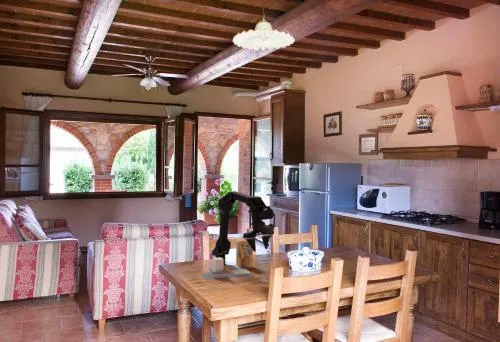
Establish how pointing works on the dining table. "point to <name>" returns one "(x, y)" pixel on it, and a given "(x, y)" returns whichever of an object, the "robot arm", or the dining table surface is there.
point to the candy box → (244, 254)
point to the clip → (227, 270)
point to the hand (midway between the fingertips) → (260, 250)
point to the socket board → (225, 275)
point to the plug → (218, 266)
